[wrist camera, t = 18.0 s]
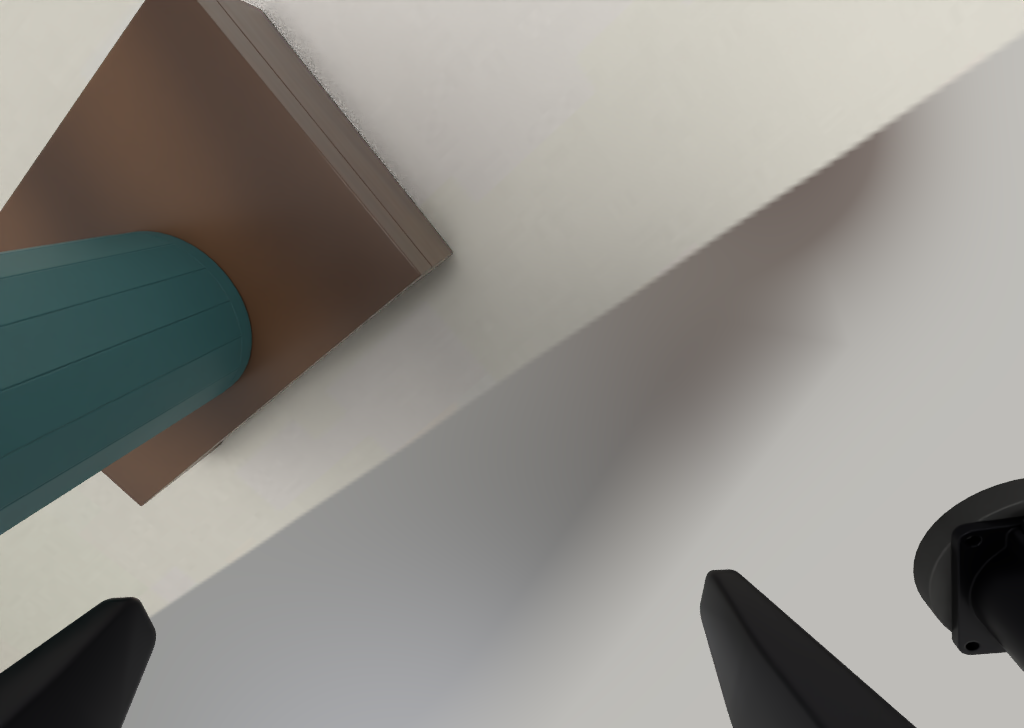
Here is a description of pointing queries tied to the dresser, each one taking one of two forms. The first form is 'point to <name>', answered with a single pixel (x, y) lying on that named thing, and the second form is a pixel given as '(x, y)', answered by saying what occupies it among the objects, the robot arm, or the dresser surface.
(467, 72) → the dresser surface
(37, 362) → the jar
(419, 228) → the brown wooden pedestal
